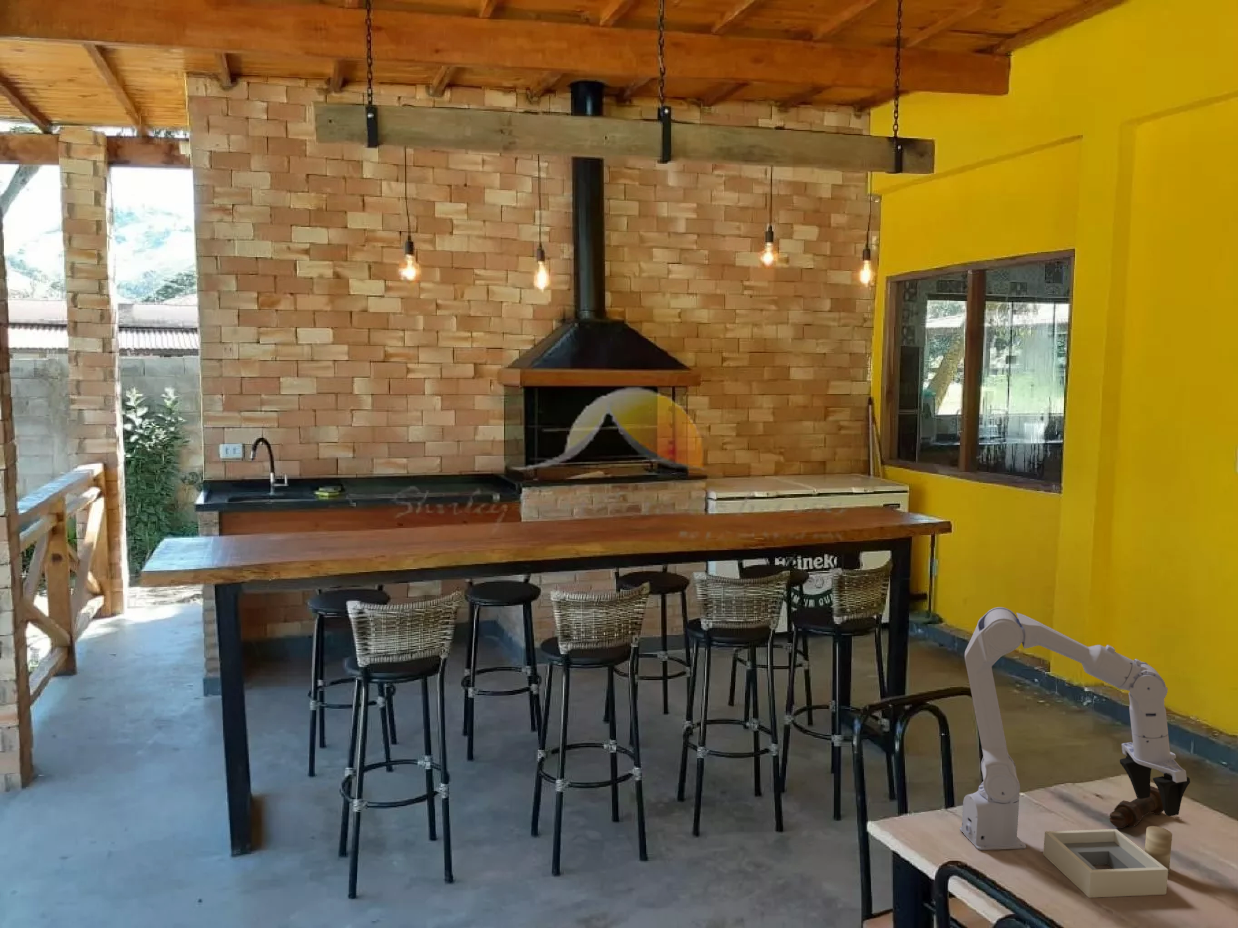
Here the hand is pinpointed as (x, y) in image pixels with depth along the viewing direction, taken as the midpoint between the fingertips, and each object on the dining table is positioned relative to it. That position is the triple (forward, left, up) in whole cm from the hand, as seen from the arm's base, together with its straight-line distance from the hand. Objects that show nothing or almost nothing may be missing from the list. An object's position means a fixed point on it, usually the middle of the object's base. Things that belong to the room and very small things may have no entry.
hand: (1157, 805), depth 166 cm
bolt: (+8, +17, -12) cm, 22 cm away
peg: (0, -1, -11) cm, 11 cm away
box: (-11, -2, -11) cm, 16 cm away
